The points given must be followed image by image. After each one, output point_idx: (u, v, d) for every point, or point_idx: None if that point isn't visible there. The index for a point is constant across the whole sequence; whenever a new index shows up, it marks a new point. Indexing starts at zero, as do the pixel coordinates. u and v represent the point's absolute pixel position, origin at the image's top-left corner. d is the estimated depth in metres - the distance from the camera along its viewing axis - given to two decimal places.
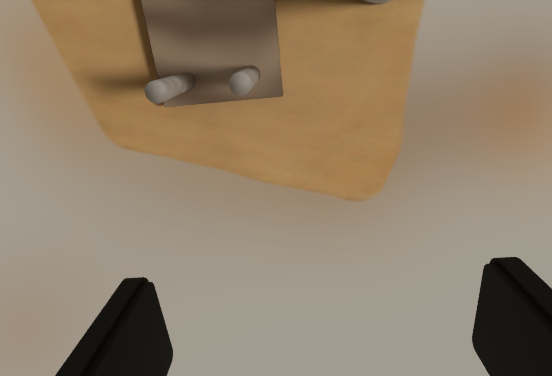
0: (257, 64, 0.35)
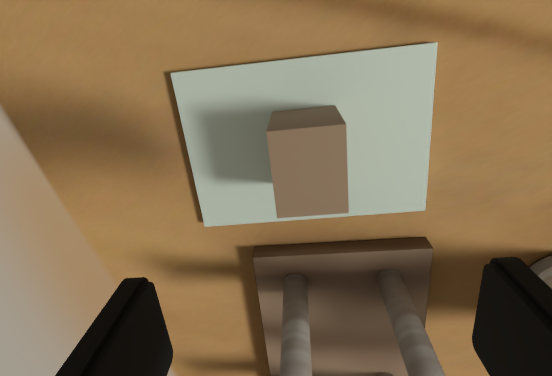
0: (392, 371, 0.30)
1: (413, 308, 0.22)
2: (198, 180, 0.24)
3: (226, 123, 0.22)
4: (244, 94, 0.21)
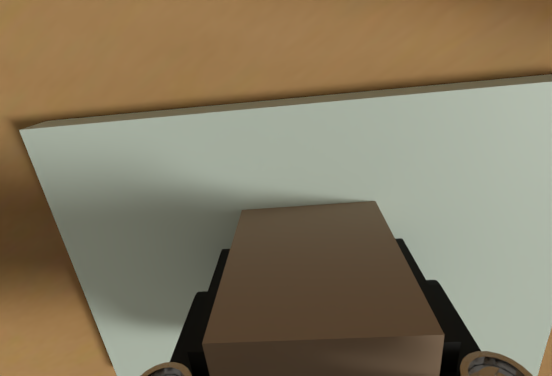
0: None
1: None
2: (103, 323, 0.12)
3: (148, 229, 0.11)
4: (182, 175, 0.10)
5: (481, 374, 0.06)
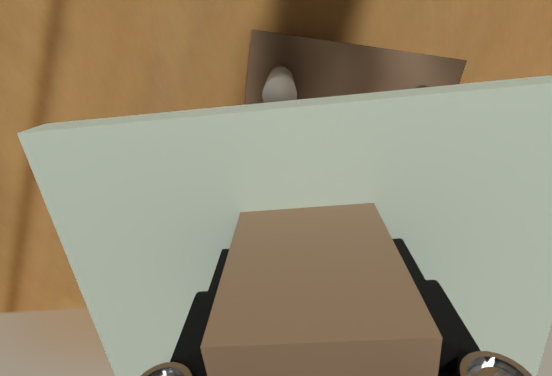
0: (412, 86, 0.26)
1: (271, 72, 0.22)
2: (102, 326, 0.12)
3: (147, 231, 0.11)
4: (180, 178, 0.10)
5: (480, 374, 0.06)
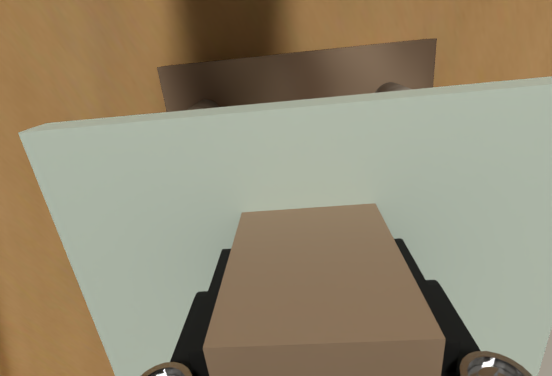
0: (373, 87, 0.20)
1: None
2: (103, 326, 0.12)
3: (148, 231, 0.11)
4: (182, 178, 0.10)
5: (481, 374, 0.06)
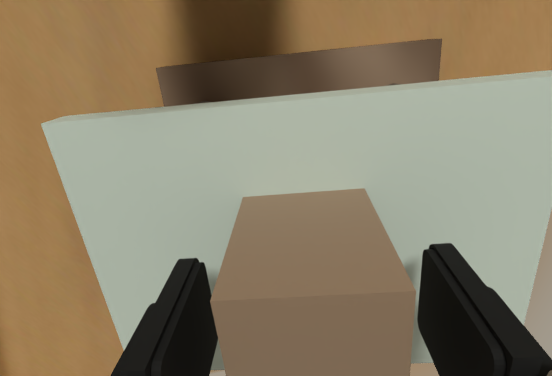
0: None
1: None
2: (114, 305, 0.13)
3: (157, 215, 0.12)
4: (188, 165, 0.11)
5: None
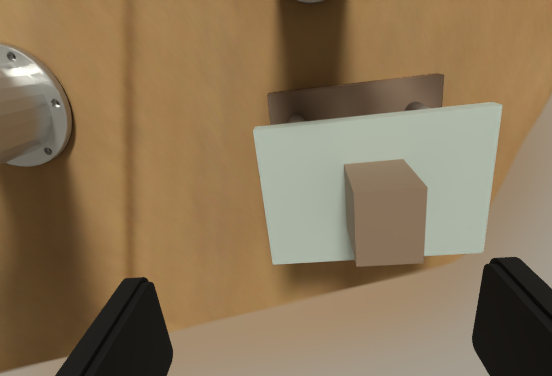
0: (403, 105, 0.32)
1: None
2: (270, 223, 0.26)
3: (300, 174, 0.24)
4: (319, 149, 0.23)
5: None
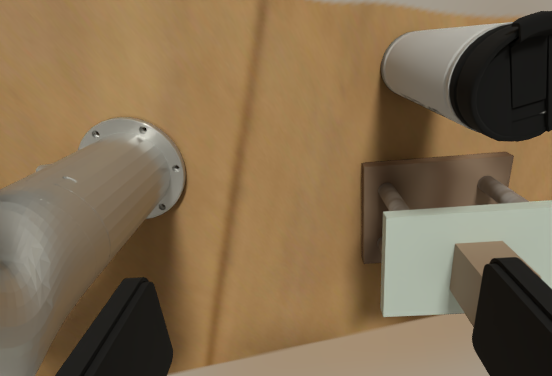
0: (478, 177, 0.38)
1: (389, 200, 0.36)
2: (387, 286, 0.32)
3: (419, 250, 0.30)
4: (437, 232, 0.30)
5: None
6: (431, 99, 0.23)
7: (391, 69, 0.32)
